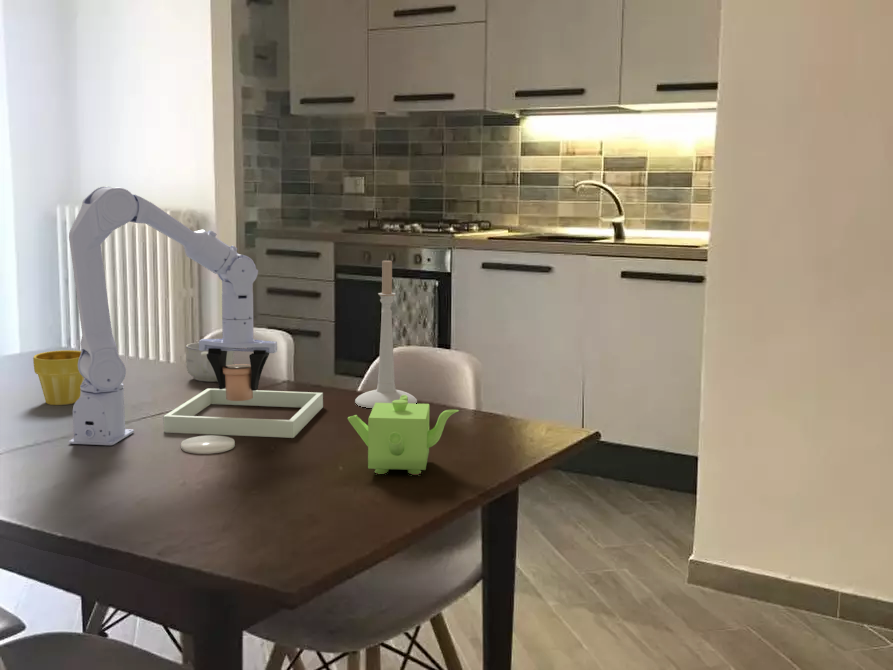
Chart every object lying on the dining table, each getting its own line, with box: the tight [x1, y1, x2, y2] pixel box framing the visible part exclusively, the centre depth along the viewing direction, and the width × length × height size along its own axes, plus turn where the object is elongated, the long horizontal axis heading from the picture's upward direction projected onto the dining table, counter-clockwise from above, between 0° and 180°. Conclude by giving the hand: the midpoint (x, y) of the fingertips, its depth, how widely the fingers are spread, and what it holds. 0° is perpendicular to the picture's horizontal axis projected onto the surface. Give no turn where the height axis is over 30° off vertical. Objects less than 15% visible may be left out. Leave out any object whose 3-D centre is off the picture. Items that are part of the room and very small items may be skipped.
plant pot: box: [32, 349, 85, 406], centre depth 203 cm, size 10×10×10 cm
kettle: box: [347, 395, 460, 474], centre depth 162 cm, size 15×14×11 cm
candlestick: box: [354, 258, 418, 410], centre depth 206 cm, size 13×13×30 cm
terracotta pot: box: [223, 363, 253, 401], centre depth 189 cm, size 6×6×6 cm
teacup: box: [185, 342, 235, 383], centre depth 226 cm, size 14×11×8 cm
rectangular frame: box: [163, 388, 324, 439], centre depth 192 cm, size 24×24×3 cm
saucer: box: [180, 434, 236, 455], centre depth 173 cm, size 9×9×1 cm
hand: (238, 389), depth 190 cm, fingers closed on terracotta pot, 6 cm apart
